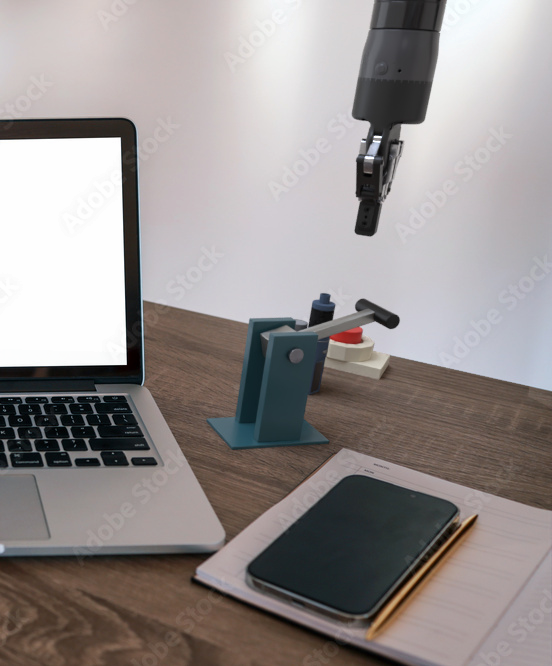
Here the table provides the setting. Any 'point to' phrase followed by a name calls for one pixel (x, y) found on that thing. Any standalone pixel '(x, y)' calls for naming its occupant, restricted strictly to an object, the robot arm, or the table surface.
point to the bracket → (272, 390)
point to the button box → (357, 358)
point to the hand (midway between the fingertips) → (365, 234)
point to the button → (349, 336)
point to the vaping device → (319, 314)
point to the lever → (343, 322)
